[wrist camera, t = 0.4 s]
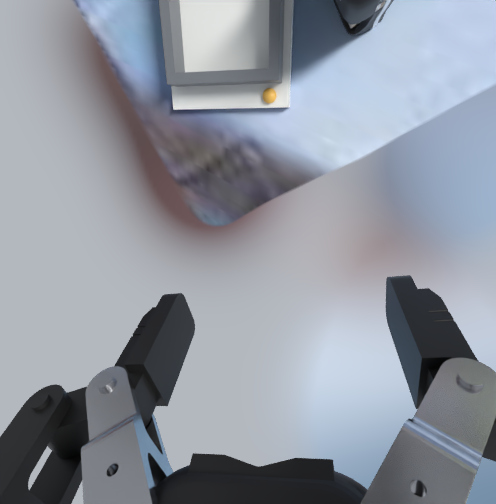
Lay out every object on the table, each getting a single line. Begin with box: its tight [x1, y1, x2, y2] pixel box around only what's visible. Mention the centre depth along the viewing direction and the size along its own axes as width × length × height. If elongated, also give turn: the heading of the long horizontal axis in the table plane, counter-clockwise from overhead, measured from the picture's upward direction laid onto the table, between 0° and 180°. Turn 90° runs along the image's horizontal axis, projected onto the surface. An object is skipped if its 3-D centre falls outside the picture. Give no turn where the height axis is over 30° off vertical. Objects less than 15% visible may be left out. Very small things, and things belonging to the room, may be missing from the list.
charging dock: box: [159, 0, 294, 110], centre depth 30 cm, size 16×13×4 cm
